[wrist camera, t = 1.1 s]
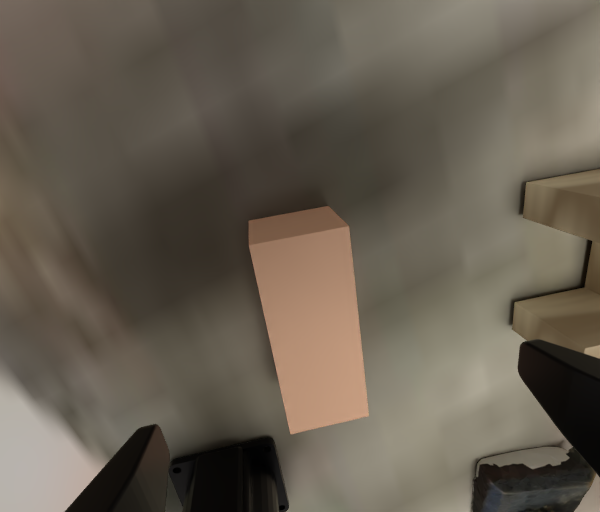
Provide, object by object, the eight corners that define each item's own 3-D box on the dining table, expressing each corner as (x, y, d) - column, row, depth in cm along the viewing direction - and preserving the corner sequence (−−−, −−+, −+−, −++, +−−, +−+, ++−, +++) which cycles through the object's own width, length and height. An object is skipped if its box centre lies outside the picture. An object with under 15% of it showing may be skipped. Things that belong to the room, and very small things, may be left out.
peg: (327, 204, 17) (349, 226, 14) (347, 364, 21) (368, 415, 17) (248, 219, 17) (248, 245, 13) (282, 379, 21) (290, 434, 17)
